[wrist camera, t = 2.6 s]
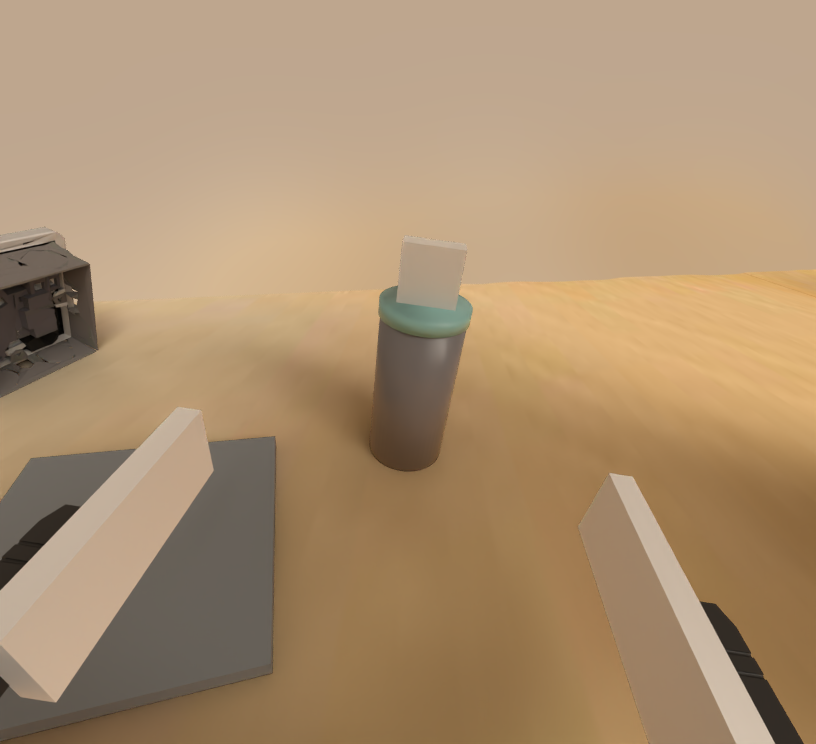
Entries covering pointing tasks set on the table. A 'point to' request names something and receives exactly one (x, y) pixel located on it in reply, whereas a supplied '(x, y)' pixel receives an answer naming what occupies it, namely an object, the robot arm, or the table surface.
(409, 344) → the trash can
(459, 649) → the table surface
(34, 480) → the pad
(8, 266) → the electrical switch
